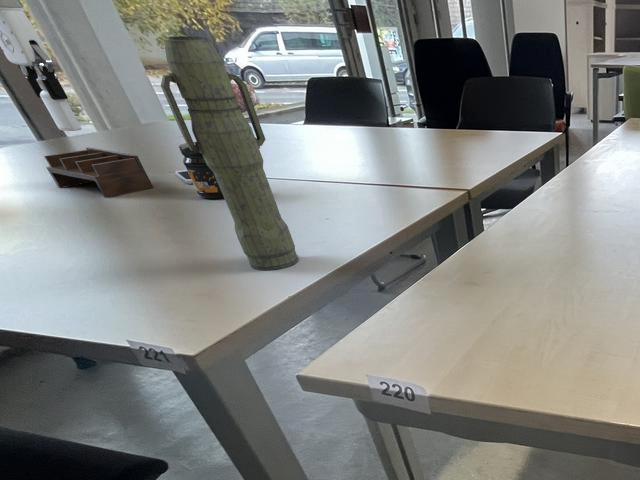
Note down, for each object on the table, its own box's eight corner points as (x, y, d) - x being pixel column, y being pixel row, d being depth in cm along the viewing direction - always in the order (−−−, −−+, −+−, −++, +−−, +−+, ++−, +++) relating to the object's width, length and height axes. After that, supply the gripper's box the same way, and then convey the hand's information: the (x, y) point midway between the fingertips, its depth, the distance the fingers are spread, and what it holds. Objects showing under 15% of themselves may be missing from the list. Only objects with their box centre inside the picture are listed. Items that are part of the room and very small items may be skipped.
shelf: (106, 197, 133) (87, 163, 128) (58, 187, 140) (37, 154, 135) (153, 187, 142) (137, 155, 137) (105, 178, 149) (88, 147, 144)
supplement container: (189, 198, 135) (165, 146, 127) (221, 188, 142) (200, 139, 135) (221, 201, 133) (199, 149, 125) (252, 192, 140) (233, 142, 133)
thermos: (315, 260, 102) (238, 37, 80) (253, 276, 96) (151, 37, 73) (294, 249, 107) (216, 36, 84) (234, 264, 100) (132, 35, 77)
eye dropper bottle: (61, 132, 128) (27, 73, 120) (58, 129, 131) (25, 71, 123) (83, 130, 130) (51, 72, 123) (80, 127, 133) (49, 71, 126)
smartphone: (202, 171, 157) (201, 167, 157) (216, 180, 149) (214, 176, 148) (176, 174, 153) (174, 170, 153) (188, 184, 145) (186, 180, 144)
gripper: (-42, 1, 115) (16, 97, 126) (-2, 1, 109) (54, 102, 121) (-1, 2, 120) (51, 94, 132) (39, 3, 115) (90, 99, 126)
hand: (52, 97), depth 126 cm, fingers closed on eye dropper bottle, 5 cm apart
